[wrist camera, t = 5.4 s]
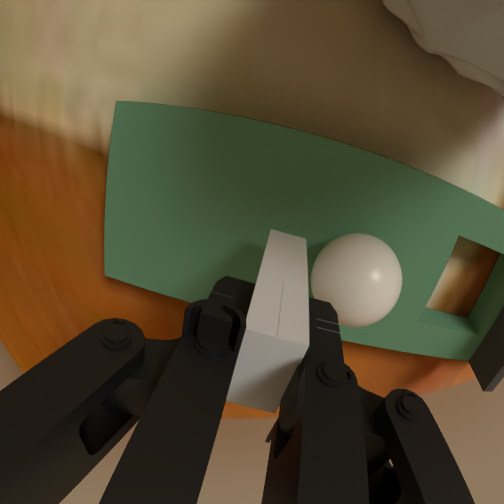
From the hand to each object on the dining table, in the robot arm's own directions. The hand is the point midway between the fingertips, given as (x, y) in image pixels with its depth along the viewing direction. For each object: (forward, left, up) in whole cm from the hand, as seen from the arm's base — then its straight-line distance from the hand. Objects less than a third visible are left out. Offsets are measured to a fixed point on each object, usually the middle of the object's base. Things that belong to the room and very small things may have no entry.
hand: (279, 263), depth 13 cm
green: (+5, 0, -4) cm, 6 cm away
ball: (+3, 0, +2) cm, 4 cm away
